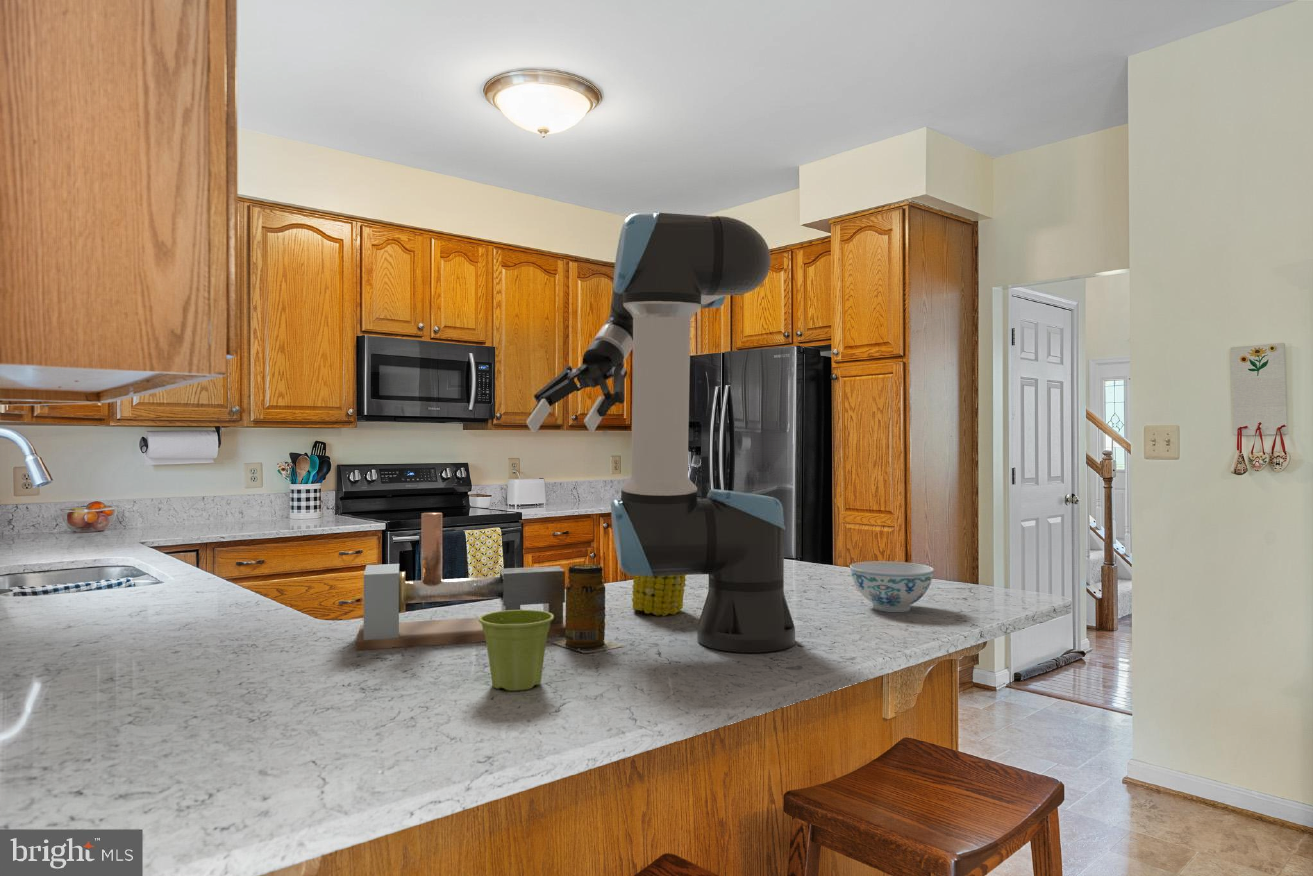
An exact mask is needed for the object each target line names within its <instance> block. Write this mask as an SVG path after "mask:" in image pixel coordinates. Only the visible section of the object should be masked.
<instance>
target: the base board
mask: <svg viewBox="0 0 1313 876" xmlns="http://www.w3.org/2000/svg"><path fill="white" fill-rule="evenodd" d="M565 621H566V618H564V617H563V623H560V624H550V628H549V631H548V632H547V638H549V637H564V636H565V624H566V623H565ZM356 637H357V638H356V641H355V651H365V650H380V649H382V650H383V649H393V648H392V647H397V648H407V647H409V648H410V647H421V646H422V647H423V646H436V645H437V646H438V645H451V644H452V645H453V644H465V643H479V642H486V637H485V634H484V633H483V628H482V624H481V623H480V622H479V617H467V618H465V617H464V618H450V619H449V618H448V619H435V620H433V619H432V620H419V621H416V620H415V621H402V622H401V621H399V638H389V639H374V640H363V639H364V624H360V625H359V630H358V633H357V636H356Z"/></svg>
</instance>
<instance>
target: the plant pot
mask: <svg viewBox="0 0 1313 876" xmlns="http://www.w3.org/2000/svg"><path fill="white" fill-rule="evenodd" d="M478 618H479V622H480V623H481V624H482V628H483V633H484V634H485V637H486V641H485V642H486V649H487V656H488V662H489V671H490V676H491V677H490V678H491V684H492V687H493V688H494V689H504V690H506V691H511V692H516V691H527V690H529V689H532V688H534V687H535V685H536V686H539V685H540V684H541V682H542V676H543V675H542V674H543V667H544V662H545V661H544V659H545V653H546V646H547V645H546V644H547V638H548V637H547V632H548V631H549V628H550V622H551V621H552V620H553V619H554V615H553V614H551V613H549V612H545V611H543V610H538V609H537V610H535V609H520V610H506V611H502V610H500V611H499V610H498V611H493V612H489V613H485V614H482V615H481V616H479V617H478Z"/></svg>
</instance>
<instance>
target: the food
mask: <svg viewBox="0 0 1313 876" xmlns="http://www.w3.org/2000/svg"><path fill="white" fill-rule="evenodd" d="M686 576H687V575H666V576H653V577H649V576H633V580H632V581H633V584H632V591H631V592H632V595H633V596H632V598H631V602H632V609H633V611H643V612H644V613H645V614H653V615H655V616H656V617H657V616H663V617H665V616H667V615H674V616H675V615H677V613H680V612H681V611H682V610H683V607H684V606H683V605H684V604H683V603H684V593H685V587H686V585H687V584H686V581H687V579H686Z"/></svg>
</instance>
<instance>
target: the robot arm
mask: <svg viewBox="0 0 1313 876" xmlns="http://www.w3.org/2000/svg"><path fill="white" fill-rule="evenodd" d="M614 261H615V262H614V269H613V281H612V283H613V284H612V293H611V302H610V312H609V315H608V317H607V319H606V320H605V322H604V324H603V325H602V326H601V328H600V329H599V330H598V332H597V333H596V335H595V337H593V339H592V341H591V342H590V344H589V346H588V347H587V349H586V350H585V352H584V353H583V355H582V362H581V364H580V365H579V366H578V367H577V368H573V367H572V366H571V365H567V366H565V368H564V369H563V370H562V371H561V373H559V374H558V375H557V376H556V377H554V378H553V379H551V381H549V382H548V383H546V385H544V387H543V386H542V388H541V389H539V390H537V392H536V393H534V395H533V398H534V399H535V401H536V403H537V404H536V405H535V406H534V408H533V409H532V411H531V412H532V413H531V414H530V416H529V417H528V418H527V420H526V422H525V423H526V425H527V426H528V428H529V429H530V431H531V432H532V433H537V431H538V430H539V429H540V427H541V425H542V424H543V422H544V421H545V419H546V418H547V417H548V415H549V413H551V411H552V406H554V405H555V404H557V403H558V402H560V401H561V400H564V398H567V396H569V395H571V394H573V393H574V392H580V391H581V390H583V389H586V388H597V387H598V386H599V388H600V390H601V394H602V395H603V396H598V398H597V399H596V401H595V403H594V404H593V406H592V407H591V408H590V410H589V412H588V413H587V415H586V417H585V418H584V419H583V423H584V424H585V426H586V427H587V429H588V431H589V432H590V433H594V432H595V430H596V429H597V428H598V425H599V424H600V422H601V421H602V419H603V418H604V417H606V415H607V414H608V412H609V411H610V409H611V408H612V407H614V406H615V404H617V403H618V404H619V405H622V404H623V403H624V402H625V397H626V395H625V393H626V392H625V390H626V389H625V388H626V387H625V386H626V385H625V382H626V381H625V380H626V378H627V375H628V371H627V369H626V367H625V366H624V362H626V359H627V357H628V356H629V355H630V353H631V351H632V387H631V388H632V390H631V391H632V395H631V398H632V400H631V401H632V402H631V465H630V466H631V467H630V469H631V473H630V474H631V475H630V477H629V479H628V480H627V481H625V482H624V484H622V485H621V487H620V498H619V497H617V498H615V499H612V500H611V503H610V509H611V510H610V511H611V512H610V517H611V527H612V534H613V535H612V536H613V540H614V541H613V542H614V548H615V552H616V557H617V561H618V565H619V568H620V569H621V571H622V572H623V573H624V574H626V575H628V576H633V577H634V576H649V577H653V576H666V575H686V576H690V575H691V576H692V575H699V576H700V575H708V591H707V594H706V598H705V600H704V604H703V607H702V610H701V614H700V616H699V620H698V623H697V627H696V628H697V629H696V630H697V632H696V633H697V635H696V639H697V642H698V643H699V644H700V645H702V646H705V647H707V648H710V649H713V650H719V651H724V652H733V653H734V652H735V653H747V654H748V653H755V654H756V653H770V652H777V651H782V650H786V649H789V648H791V647H793V646H794V645H795V644H796V626H795V623H794V620H793V617H792V614H791V610H790V608H789V604H788V601H787V597H786V595H785V591H784V590H785V589H784V588H785V587H784V586H785V583H784V580H785V568H784V566H785V564H784V563H785V560H784V559H785V558H784V556H785V555H784V553H785V550H784V549H785V546H784V545H785V544H784V543H785V530H786V526H785V519H784V507H783V504H782V503H781V501H780V500H779V499H778V498H776V497H775V496H773V497H772V496H768V495H762V494H756V493H749V492H742V491H741V492H740V491H734V490H728V489H727V490H726V489H715V488H712V489H709V491H708V493H707V496H706V497H707V498H698V487H697V486H696V485H695V484H694V482H693V481H692V480H691V479H690V478H689V474H688V473H689V472H688V470H689V467H688V466H689V430H690V429H689V428H690V427H689V425H690V424H689V423H690V422H689V421H690V420H689V419H690V418H689V417H690V416H689V415H690V410H689V409H690V370H691V369H690V367H691V354H690V353H691V321H692V317H693V316H694V315H695V314H696V313H698V311H699V310H700V309H717V308H721V307H722V306H724V303H725V301H726V297H727V296H743V295H745V294H748V293H750V292H752V291H756V289H758V287H760V286H761V285H762V284H763V283H764V282H765V280H766V279H767V277H768V274H769V272H770V268H771V262H772V256H771V251H770V248H769V246H768V244H767V242H766V240H765V238H764V237H763V236H762V234H760V232H758V231H757V230H756V229H755V228H754V227H752V226H751V225H749V224H747V223H746V222H744V221H741V220H740V219H736V218H734V217H730V216H722V215H716V216H715V215H714V216H713V215H710V216H709V215H700V214H683V213H669V212H668V213H667V212H658V211H655V212H646V213H645V212H644V213H632V214H630V215H629V216H628V217H626V218H625V220H624V222H623V224H622V225H621V230H620V234H619V238H618V242H617V249H616V255H615V260H614ZM612 378H613V379H612ZM575 379H577V382H578V384H577V382H576V380H575ZM609 379H612V380H613V381H612V382H613V389H612V391H613V392H612V393H611V390H610V388H609V387H610V386H609V385H608V382H607V381H608V380H609Z"/></svg>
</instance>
